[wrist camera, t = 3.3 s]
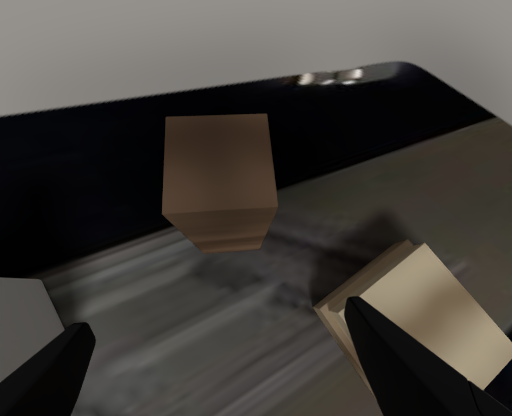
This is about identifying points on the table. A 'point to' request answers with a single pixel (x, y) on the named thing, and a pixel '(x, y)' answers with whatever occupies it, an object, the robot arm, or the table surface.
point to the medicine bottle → (24, 321)
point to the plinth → (421, 312)
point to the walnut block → (219, 180)
